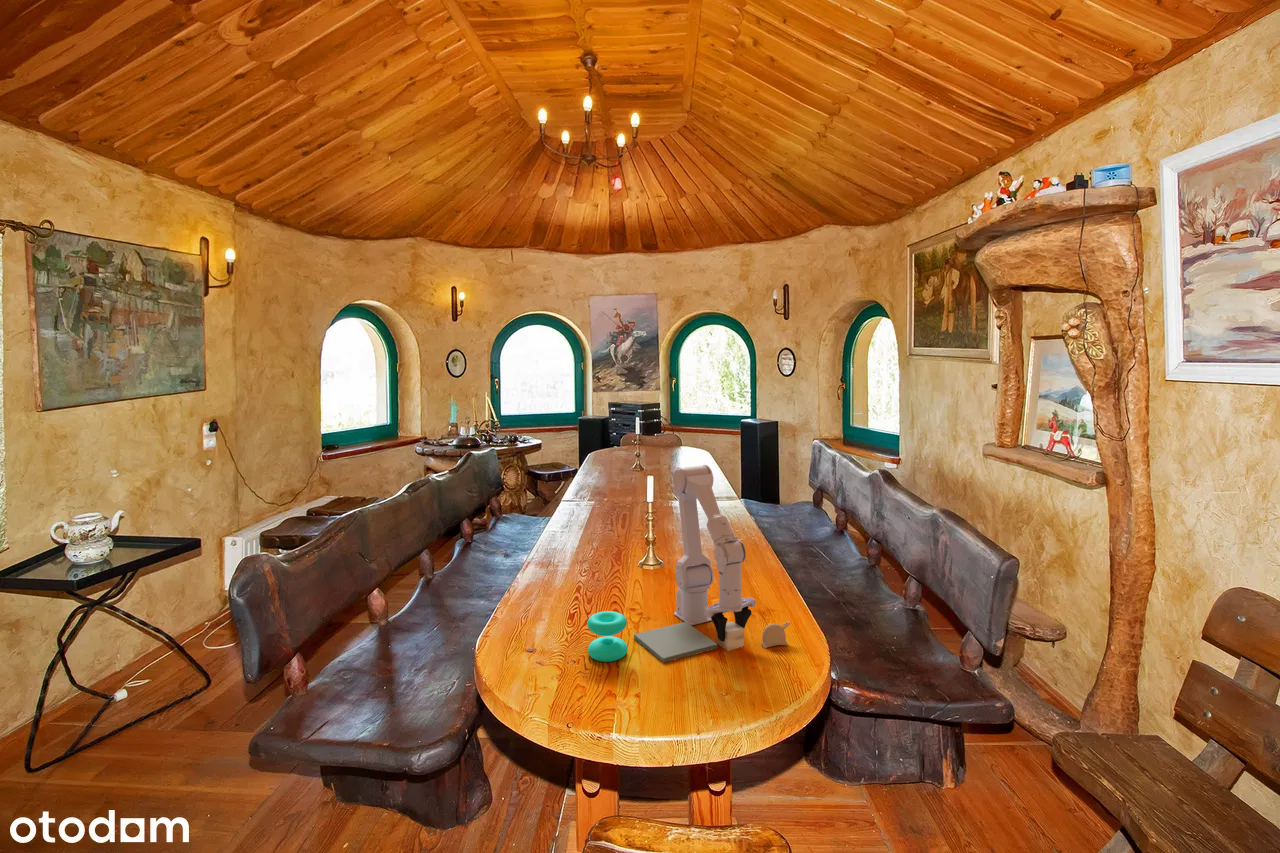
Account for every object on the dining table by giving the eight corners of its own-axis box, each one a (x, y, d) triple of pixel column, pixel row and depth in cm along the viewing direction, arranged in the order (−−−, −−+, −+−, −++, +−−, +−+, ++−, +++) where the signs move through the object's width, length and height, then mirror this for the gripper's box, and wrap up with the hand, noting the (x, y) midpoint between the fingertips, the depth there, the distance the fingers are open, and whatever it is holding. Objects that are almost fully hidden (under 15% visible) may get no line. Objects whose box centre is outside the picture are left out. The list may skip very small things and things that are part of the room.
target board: (634, 638, 180) (634, 634, 180) (685, 625, 188) (685, 621, 187) (663, 663, 166) (663, 658, 166) (717, 648, 173) (717, 644, 173)
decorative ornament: (758, 641, 177) (758, 622, 176) (788, 638, 178) (788, 619, 178) (763, 648, 173) (763, 628, 172) (794, 645, 174) (794, 625, 174)
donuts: (634, 617, 170) (602, 628, 163) (635, 655, 171) (604, 667, 164) (610, 606, 177) (579, 616, 171) (611, 642, 178) (580, 654, 172)
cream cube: (716, 643, 176) (716, 625, 176) (732, 639, 179) (732, 621, 178) (727, 651, 172) (727, 632, 171) (743, 646, 174) (743, 628, 174)
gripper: (715, 597, 166) (715, 649, 168) (762, 586, 173) (762, 637, 175) (699, 588, 173) (700, 639, 174) (746, 578, 179) (746, 627, 181)
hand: (730, 637), depth 175 cm, fingers closed on cream cube, 5 cm apart
